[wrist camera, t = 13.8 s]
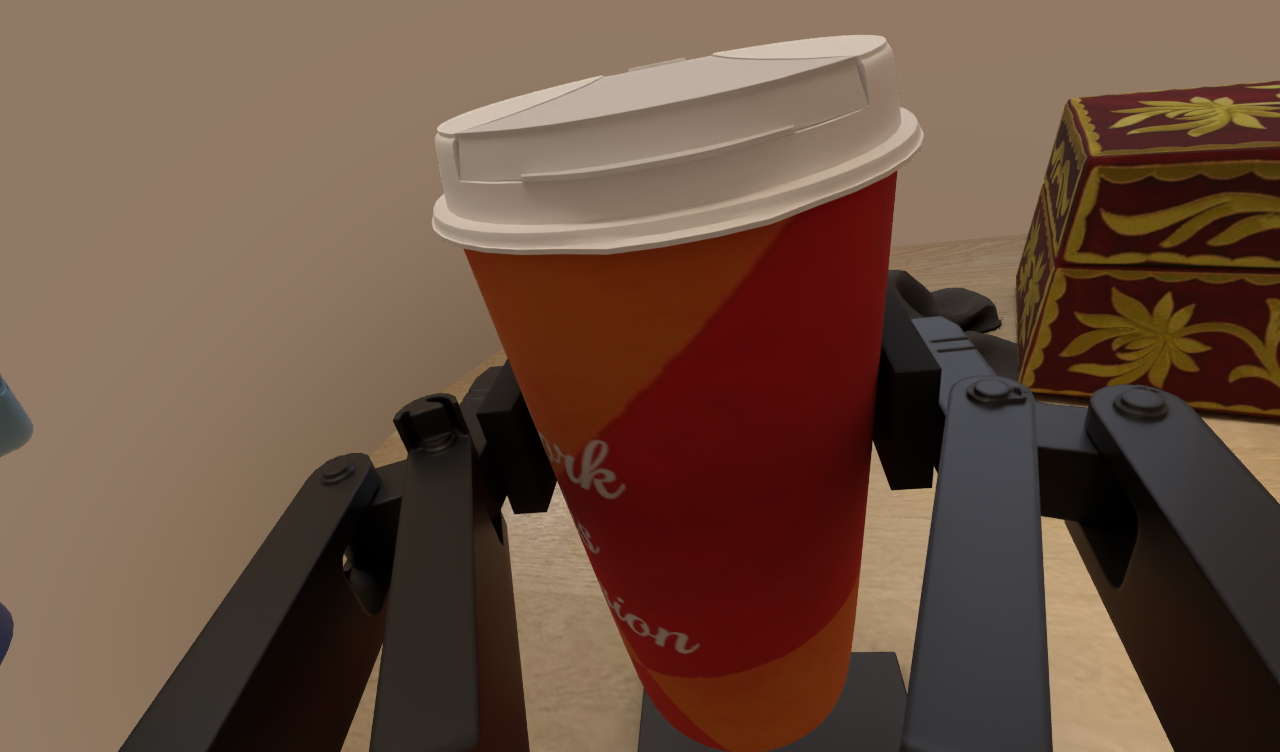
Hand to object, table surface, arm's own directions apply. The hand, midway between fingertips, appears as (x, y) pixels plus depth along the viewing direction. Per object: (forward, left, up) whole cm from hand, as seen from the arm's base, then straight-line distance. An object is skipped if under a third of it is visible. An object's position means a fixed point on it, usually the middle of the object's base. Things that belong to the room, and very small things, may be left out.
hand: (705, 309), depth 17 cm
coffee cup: (0, -5, -9) cm, 10 cm away
